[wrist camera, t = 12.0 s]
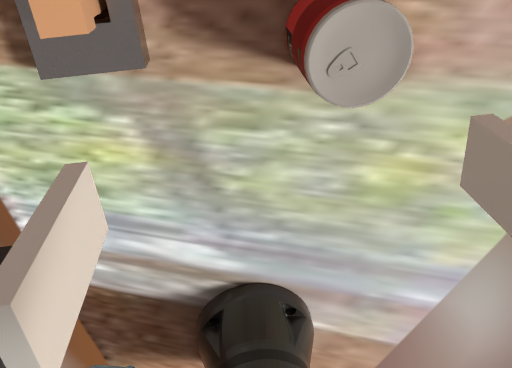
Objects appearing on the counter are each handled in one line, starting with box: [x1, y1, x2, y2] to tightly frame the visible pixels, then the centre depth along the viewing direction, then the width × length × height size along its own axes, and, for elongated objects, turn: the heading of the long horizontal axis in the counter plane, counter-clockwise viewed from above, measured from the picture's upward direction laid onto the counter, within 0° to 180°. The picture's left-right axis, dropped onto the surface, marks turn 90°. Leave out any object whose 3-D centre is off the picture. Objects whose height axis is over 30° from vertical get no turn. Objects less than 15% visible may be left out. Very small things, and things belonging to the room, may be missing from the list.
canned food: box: [285, 0, 414, 108], centre depth 36 cm, size 8×8×11 cm
